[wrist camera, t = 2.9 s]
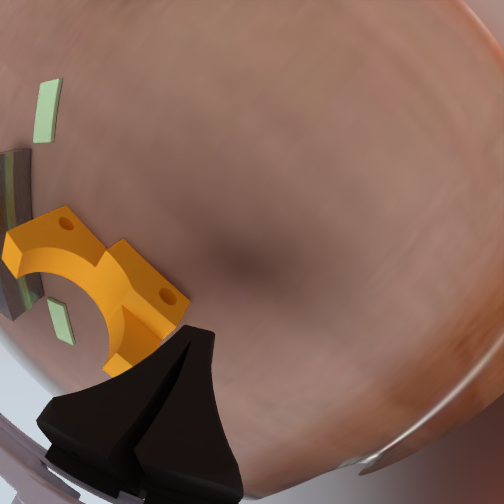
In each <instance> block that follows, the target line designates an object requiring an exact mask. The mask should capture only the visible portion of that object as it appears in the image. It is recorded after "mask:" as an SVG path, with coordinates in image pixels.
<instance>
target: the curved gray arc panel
mask: <svg viewBox="0 0 504 504" xmlns="http://www.w3.org/2000/svg"><path fill="white" fill-rule="evenodd" d="M30 159H31V149H14V150H9V151H4V152H0V313H1V314H3V315H4V316H6V317H7V318H9V319H10V320H12V321H14V320H15V319H16V318H17V317H19V316H20V315H21V314H22V313H23V312H24V311H28V310H29V309H30V308H32V305H33V304H34V303H35V302H36V301H37V300H39V299H40V298H41V297H42V296H44V292H43V288H42V283H41V278H40V273H39V272H33V273H29V274H25V275H23V276H21V277H19V278H18V279H16V278H15V277H14V275H13V274H12V273H11V271H10V270H9V268H8V267H7V266H6V264H5V263H4V261H3V260H2V253H3V248H4V242H5V237H6V233H7V231H9V230H11V229H13V228H15V227H18V226H20V225H22V224H24V223H26V222H28V221H30V220H32V212H31V192H30Z"/></svg>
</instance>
